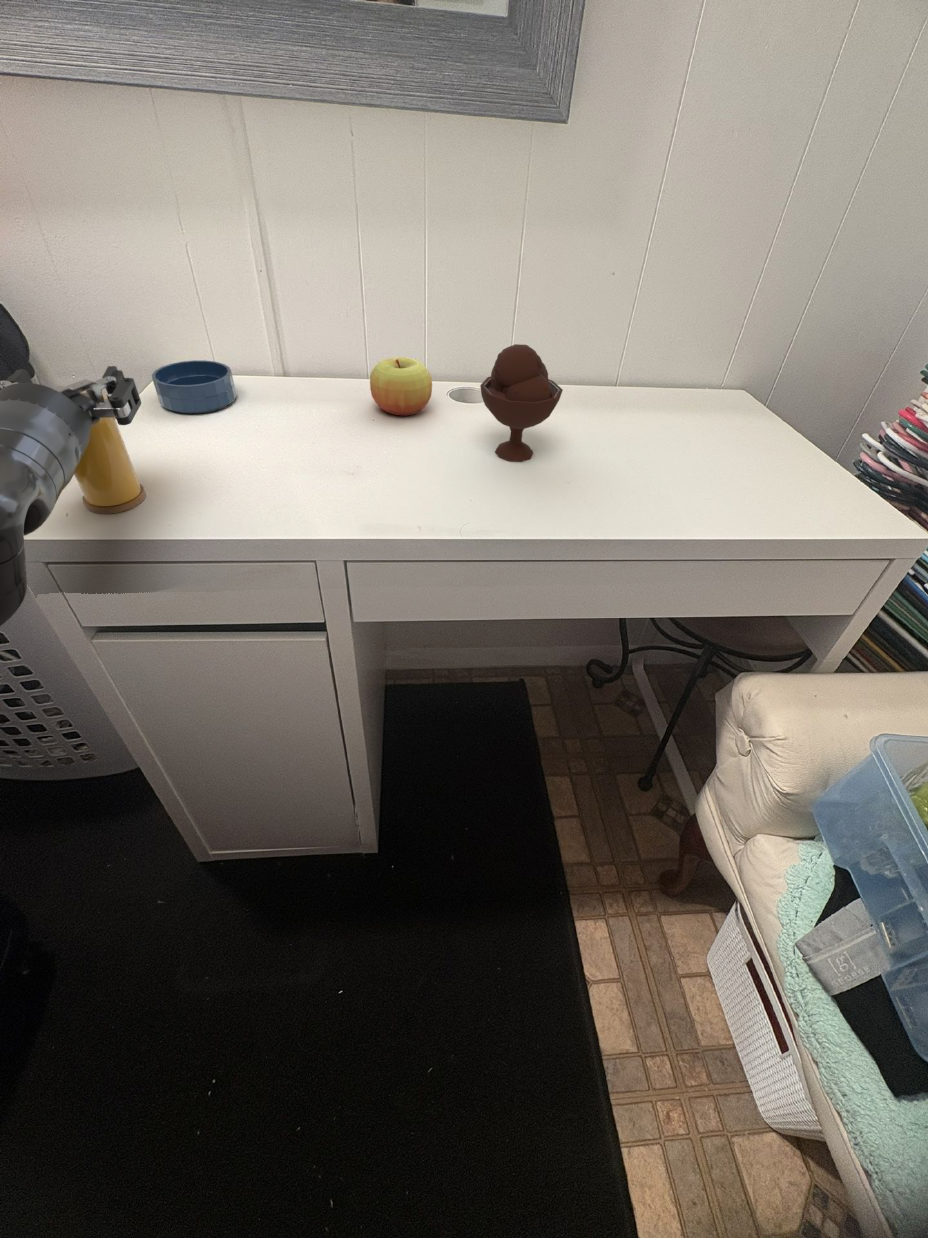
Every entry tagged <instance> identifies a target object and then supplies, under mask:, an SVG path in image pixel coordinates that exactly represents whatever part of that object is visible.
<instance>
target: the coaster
mask: <svg viewBox="0 0 928 1238" xmlns="http://www.w3.org/2000/svg"><path fill="white" fill-rule="evenodd" d="M139 484H140V486H141V492H140V494H139V495H138V496H137V497H136V498H134V499H133V500H131V501H129V502H126V503H123V504H120V505H115V506H95V505H92V504H89V503H88V502H87V501H86V499H85V497H84V495H83V494H82V495H83V496H82V503H83V504H84V506H85V507H84V508H86V509H87V510H88V511H89V512H91V513H94V514H101V515H110V514H119V513H122V512H127V511H129V510H131V509H134V508H136V507H138V506H139V505H140V504H141V503H143V502H144V500H145V499H146V496H147V494H146V490H145V488H144V486H143V485H142V484H141V483H139Z"/></svg>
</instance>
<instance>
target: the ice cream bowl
mask: <svg viewBox="0 0 928 1238" xmlns="http://www.w3.org/2000/svg"><path fill="white" fill-rule="evenodd" d="M563 391H564V389H563V388H562V387H560V385H558V383H556V382H555V380H553V379H549V372H548V370H547V366H546V364H545V363H544V362H543V361H542V359H541V356H540V355H539V354H538V353H537V351H536V350H535V349H534V348H532V347H530V346H529V345H528V344H521V343H519V344H517V343H516V344H512V345H510V346H508V347H505V348H503V349H502V350H501V351H500V352H499V353H498V354H497V357H496V360H495V362H494V365H493V367H492V370H491V373H490V376H487V377H486V378H485V379H484V381H482V383H481V384H480V395H481V399H482V401H483V404H484V406H485V407H486V408H487V410H488V411H489V412H490V413H491V414H492V416H493V417H494V418H495V419H496V421H498V422H499V423H500V424H501V425H503V426H505V427H509V430H510V433H509V440H507V441H504V442H501V443H500V444H499V445H498V446H497V447H496V448H495V451H494V453H495V454H496V455H497V457H498V458H500V459H502V460H505V461H508V462H516V463H522V462H525V461H528V460H531V459H532V457H533V455H534V451H533V449H532V448H531V447H530V446H529V445H528V444H527V443H525V442H523V432H524V430H525V429H529V428H532V427H535V426H537V425H539V424H542V423H543V422H544V421H546V420H547V419H548V418H549V417H550V416H551V414H552V413H553V411H554V410H555V408H556V406H557V405H558V403H559V402H560V399H561V397H562V394H563Z"/></svg>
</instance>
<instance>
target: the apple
mask: <svg viewBox="0 0 928 1238" xmlns="http://www.w3.org/2000/svg"><path fill="white" fill-rule="evenodd" d="M369 388H370V395H371V397H372V399H373V401H374V402H375V404H376V405H377V406H378V407H379V408H380V409H382V410H383V411H384V412H385V413H386V412H387V413H388V414H392V415H395V416H411V415H414V414H416V413H420V411H421V410H423V409H425V407H426V406H427V405H428V403H429V401H430V399H431V398H432V393H433V392H432V391H433V379H432V375H431V374H430V371H429V370H428V369H427V367H426V366H425V365H424V364H423V362H420V361H418V360H416V359H414V358H410V357H403V356H398V357H395V356H394V357H389V358H385V359H382V360H381V361H379V362H378V363H377V364H376V365H375V366H374V367H373V368H372V370H371V373H370V375H369Z"/></svg>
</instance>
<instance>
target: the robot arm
mask: <svg viewBox="0 0 928 1238" xmlns="http://www.w3.org/2000/svg"><path fill="white" fill-rule="evenodd" d="M102 390H106V393H107V394H106V397H107V399H105V400H104V398H103V395H104V394H103V393H102ZM81 392H86V393H87V395H88V397H86V396H85V395H83V394H81ZM102 394H103V395H102ZM141 405H142V401H141V397H140V394H139V390H138V388H137V385H136V382H135V379H134V378H132V377H125V375H124V371H123V370H118V367H117V366H116V365H112V366H111V365H108V366H107V367H106V369H105V371H104V373H103V375H102V377H101V378H98V379H97V380H90V379H88V378H87V379H81V380H79V381H76V382H73V383H71V384H68V385H66V386H64V385H57V386H55V387H49V386H46V385H44V384H39V383H35V382H34V383H33V381H32V378H31V376H30V374H29V372H28V371H27V369H25V368H24V369H23V368H22V369H21V368H20V369H16V370H15V371H14V372H13V374H11V375H9V376H7V378H6V379H5V380H0V627H1V626H3V625H4V624H6V623H7V622H8V621H9V619H11V618H12V617H13V616H14V614H16V613H17V611H18V610H19V608H20V607H21V605H22V604H23V602H24V600H25V597H26V595H27V589H28V579H27V566H26V565H27V564H26V563H27V562H26V550H25V549H26V548H25V536H28V535H29V534H32V533H34V532H35V531H37V530H38V529H39V528H41V527H42V526H43V524H44V523H45V522H46V521H47V520H48V518H49V517H50V515H51V514H52V512H53V510H54V509H55V507H56V504H57V502H58V500H59V498H60V495H61V494H62V492H63V491H64V490H65V489H66V487H67V486H68V485H69V484H70V482H71V481H72V479H73V478H74V476H75V475H74V473H75V471H76V469H77V467H78V465H79V463H80V461H81V458H82V456H83V454H84V452H85V450H86V448H87V446H88V443H89V439H90V432H91V426H93V425H94V424H96V423H98V422H99V421H100V418H109V417H114V418H115V420H116V423H117V425H118V426H128V425H130V424H132V422H133V420H134V418H135V416H136V414H137V413H138V411H139V409H140V407H141Z"/></svg>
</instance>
